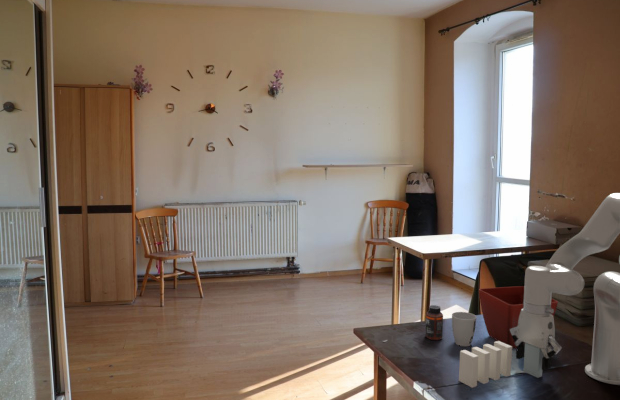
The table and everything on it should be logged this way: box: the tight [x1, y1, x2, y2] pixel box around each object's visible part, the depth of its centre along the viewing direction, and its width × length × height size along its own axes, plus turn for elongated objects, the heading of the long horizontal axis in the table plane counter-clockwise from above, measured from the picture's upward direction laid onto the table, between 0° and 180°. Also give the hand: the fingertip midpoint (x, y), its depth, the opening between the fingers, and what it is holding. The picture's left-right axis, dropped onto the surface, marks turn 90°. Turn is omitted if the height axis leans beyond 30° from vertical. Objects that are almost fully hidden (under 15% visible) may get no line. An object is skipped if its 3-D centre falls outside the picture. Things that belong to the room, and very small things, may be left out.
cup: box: [451, 311, 477, 347], centre depth 176 cm, size 8×8×10 cm
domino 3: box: [482, 343, 501, 381], centre depth 152 cm, size 5×2×9 cm, turn 30°
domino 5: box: [523, 343, 544, 379], centre depth 154 cm, size 5×2×9 cm, turn 30°
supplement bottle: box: [425, 304, 444, 341], centre depth 181 cm, size 6×6×11 cm
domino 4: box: [493, 340, 513, 378], centre depth 154 cm, size 5×2×9 cm, turn 30°
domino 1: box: [458, 349, 478, 388], centre depth 147 cm, size 5×2×9 cm, turn 30°
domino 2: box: [471, 346, 490, 385], centre depth 149 cm, size 5×2×9 cm, turn 30°
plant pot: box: [478, 285, 559, 350], centre depth 179 cm, size 19×19×17 cm
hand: (532, 363), depth 154 cm, fingers open, 8 cm apart
